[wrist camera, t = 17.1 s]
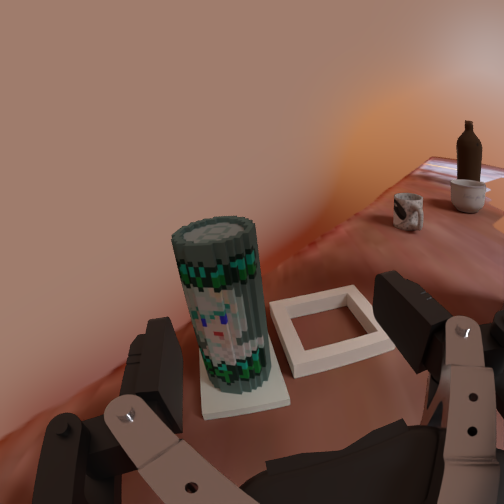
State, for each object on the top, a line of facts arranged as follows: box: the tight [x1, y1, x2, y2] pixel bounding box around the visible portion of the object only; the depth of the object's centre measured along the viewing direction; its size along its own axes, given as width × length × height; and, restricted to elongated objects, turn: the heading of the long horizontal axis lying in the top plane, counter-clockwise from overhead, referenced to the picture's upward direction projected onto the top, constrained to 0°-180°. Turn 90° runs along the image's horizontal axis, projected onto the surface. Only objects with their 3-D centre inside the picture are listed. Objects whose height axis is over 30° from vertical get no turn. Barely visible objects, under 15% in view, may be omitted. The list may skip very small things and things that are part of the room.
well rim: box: [269, 285, 395, 378], centre depth 34 cm, size 12×12×2 cm
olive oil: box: [457, 120, 482, 182], centre depth 84 cm, size 11×11×25 cm
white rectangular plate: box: [199, 334, 290, 420], centre depth 29 cm, size 8×10×1 cm
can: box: [171, 216, 272, 395], centre depth 26 cm, size 6×6×15 cm
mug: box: [393, 193, 423, 231], centre depth 58 cm, size 10×7×7 cm, turn 178°
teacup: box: [450, 179, 486, 213], centre depth 65 cm, size 14×11×8 cm
